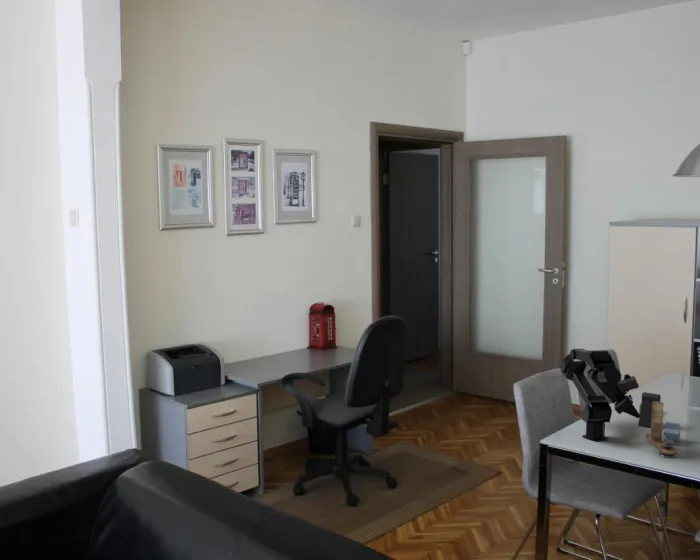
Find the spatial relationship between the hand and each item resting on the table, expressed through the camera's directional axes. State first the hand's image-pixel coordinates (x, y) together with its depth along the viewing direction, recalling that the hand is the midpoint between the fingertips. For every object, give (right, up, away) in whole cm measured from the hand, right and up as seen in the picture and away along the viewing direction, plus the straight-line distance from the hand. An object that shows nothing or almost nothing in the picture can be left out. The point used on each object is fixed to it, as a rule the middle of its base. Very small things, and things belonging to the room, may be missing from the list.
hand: (639, 417), depth 250 cm
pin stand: (+5, -11, -10) cm, 16 cm away
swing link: (+6, -9, -4) cm, 11 cm away
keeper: (+14, -9, +3) cm, 17 cm away
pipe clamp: (+17, -6, +36) cm, 40 cm away
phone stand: (+13, -7, +23) cm, 27 cm away
